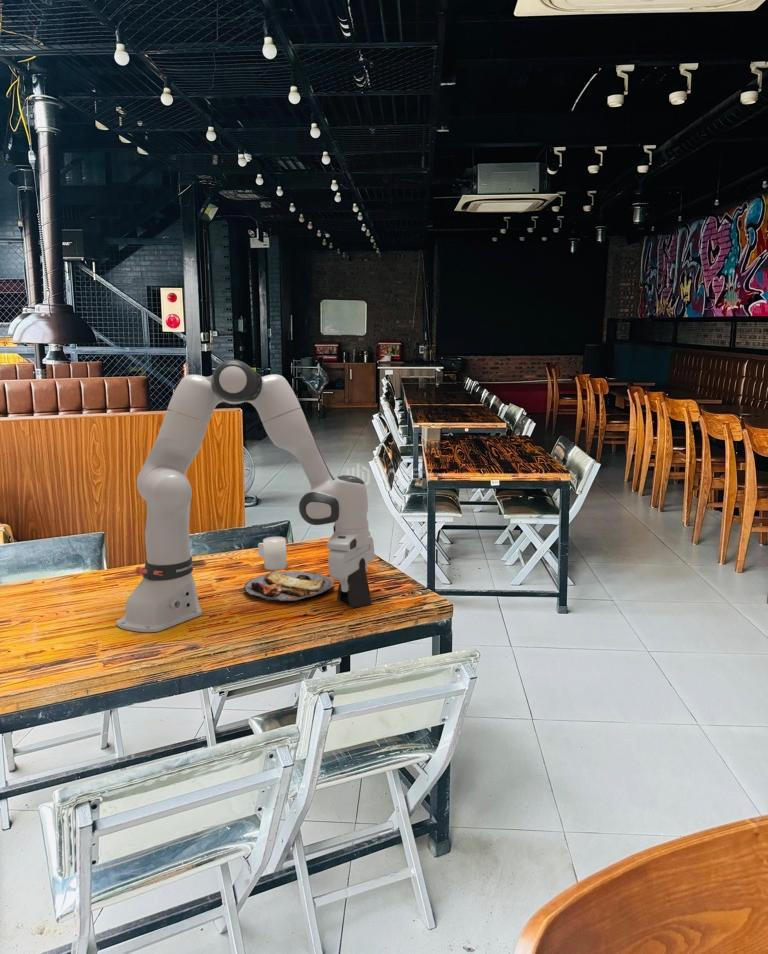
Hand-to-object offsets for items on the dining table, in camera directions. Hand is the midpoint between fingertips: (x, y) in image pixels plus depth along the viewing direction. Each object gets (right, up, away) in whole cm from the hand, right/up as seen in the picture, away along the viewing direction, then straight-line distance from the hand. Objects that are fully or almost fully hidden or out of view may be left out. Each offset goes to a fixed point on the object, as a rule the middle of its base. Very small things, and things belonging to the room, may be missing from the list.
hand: (353, 585), depth 205 cm
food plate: (-19, -3, +12) cm, 23 cm away
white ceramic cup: (-27, +1, +35) cm, 44 cm away
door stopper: (0, -5, +1) cm, 5 cm away
